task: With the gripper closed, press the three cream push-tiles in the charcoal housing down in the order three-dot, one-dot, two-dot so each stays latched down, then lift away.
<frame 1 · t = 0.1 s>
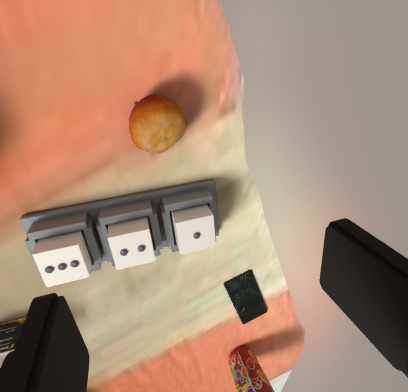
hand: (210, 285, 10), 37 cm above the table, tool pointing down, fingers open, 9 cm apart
three dot tile: (64, 258, 42), point 6 cm above the table, slide at 0.0 cm
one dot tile: (193, 229, 46), point 6 cm above the table, slide at 0.0 cm
fruit: (154, 120, 43), on the table
smoothie: (238, 352, 73), on the table
medicine bottle: (14, 333, 52), on the table
two dot tile: (132, 242, 44), point 6 cm above the table, slide at 0.0 cm
smartphone: (245, 295, 65), on the table
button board: (130, 224, 49), on the table
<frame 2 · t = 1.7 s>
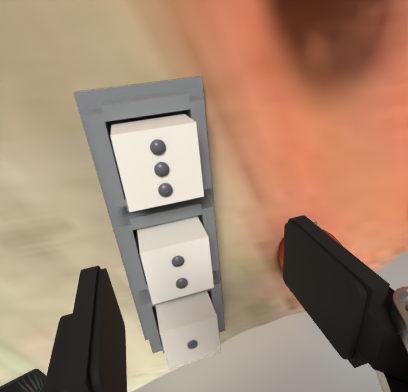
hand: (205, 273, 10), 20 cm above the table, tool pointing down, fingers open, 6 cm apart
three dot tile: (158, 161, 22), point 6 cm above the table, slide at 0.0 cm
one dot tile: (188, 329, 31), point 6 cm above the table, slide at 0.0 cm
two dot tile: (175, 259, 27), point 6 cm above the table, slide at 0.0 cm
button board: (166, 227, 32), on the table
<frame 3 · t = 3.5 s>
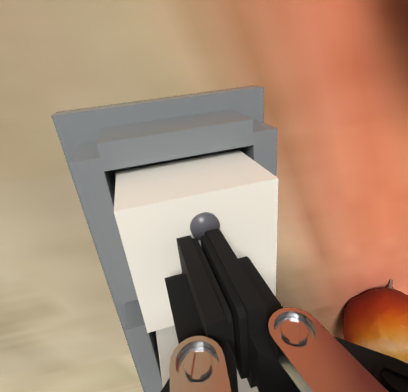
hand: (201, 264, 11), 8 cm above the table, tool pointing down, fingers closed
three dot tile: (197, 235, 13), point 6 cm above the table, slide at 0.2 cm, touching gripper
fruit: (360, 303, 29), on the table
two dot tile: (215, 371, 17), point 6 cm above the table, slide at 0.0 cm
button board: (194, 300, 22), on the table
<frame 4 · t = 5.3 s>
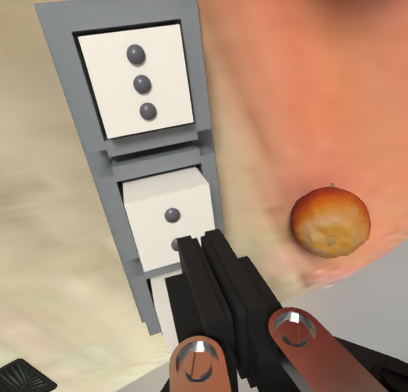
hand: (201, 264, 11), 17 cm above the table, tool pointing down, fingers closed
three dot tile: (139, 82, 20), point 4 cm above the table, slide at 2.1 cm
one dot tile: (189, 305, 27), point 6 cm above the table, slide at 0.0 cm
fruit: (308, 206, 34), on the table
two dot tile: (170, 217, 22), point 6 cm above the table, slide at 0.0 cm
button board: (160, 188, 27), on the table
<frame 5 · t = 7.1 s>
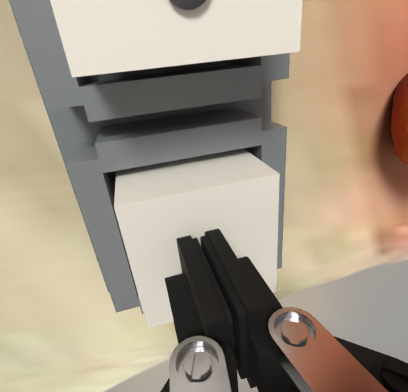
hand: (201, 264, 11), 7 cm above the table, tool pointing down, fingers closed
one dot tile: (197, 231, 13), point 5 cm above the table, slide at 0.9 cm, touching gripper
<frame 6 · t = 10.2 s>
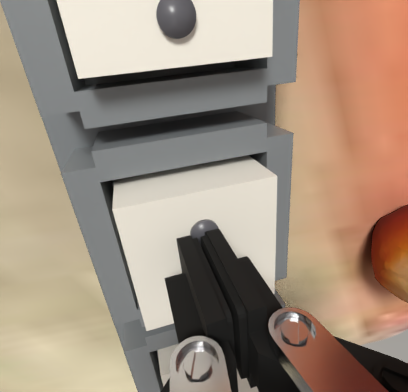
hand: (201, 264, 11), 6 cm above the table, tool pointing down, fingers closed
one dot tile: (211, 359, 18), point 4 cm above the table, slide at 2.1 cm
fruit: (390, 228, 23), on the table
two dot tile: (196, 233, 13), point 4 cm above the table, slide at 1.6 cm
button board: (179, 195, 17), on the table
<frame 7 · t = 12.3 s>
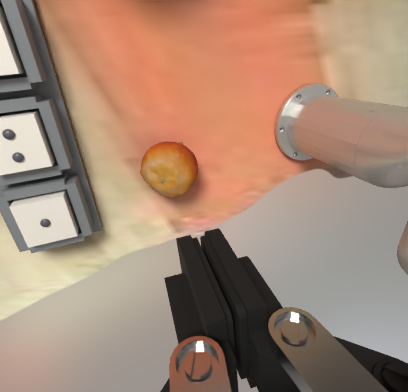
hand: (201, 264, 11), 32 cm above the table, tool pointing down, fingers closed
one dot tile: (48, 215, 37), point 4 cm above the table, slide at 2.1 cm
fruit: (165, 160, 43), on the table
two dot tile: (18, 141, 32), point 4 cm above the table, slide at 2.1 cm
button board: (26, 134, 35), on the table
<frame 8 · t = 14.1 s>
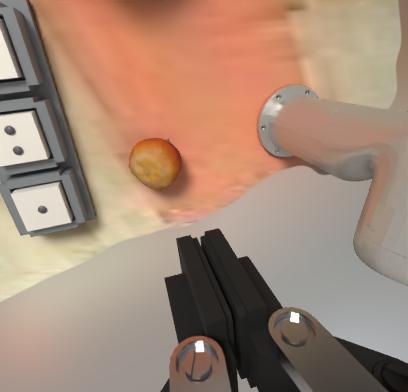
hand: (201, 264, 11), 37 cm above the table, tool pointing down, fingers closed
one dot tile: (45, 203, 41), point 4 cm above the table, slide at 2.1 cm
fruit: (153, 156, 47), on the table
two dot tile: (18, 136, 37), point 4 cm above the table, slide at 2.1 cm
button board: (27, 131, 40), on the table
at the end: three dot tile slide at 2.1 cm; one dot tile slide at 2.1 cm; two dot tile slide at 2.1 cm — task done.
